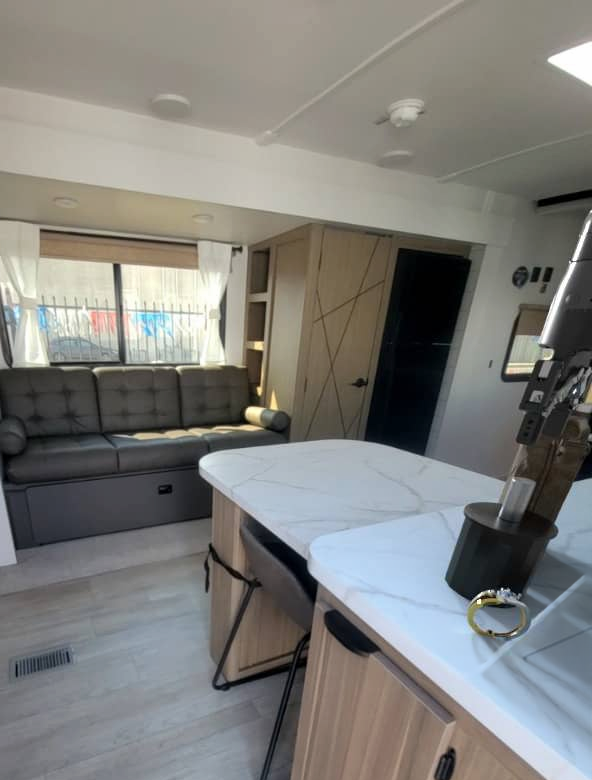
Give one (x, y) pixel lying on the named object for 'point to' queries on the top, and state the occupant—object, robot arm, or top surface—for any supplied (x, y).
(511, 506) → the lid
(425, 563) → the top surface
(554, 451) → the weathered brown block
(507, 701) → the top surface
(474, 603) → the ring
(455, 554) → the tin
